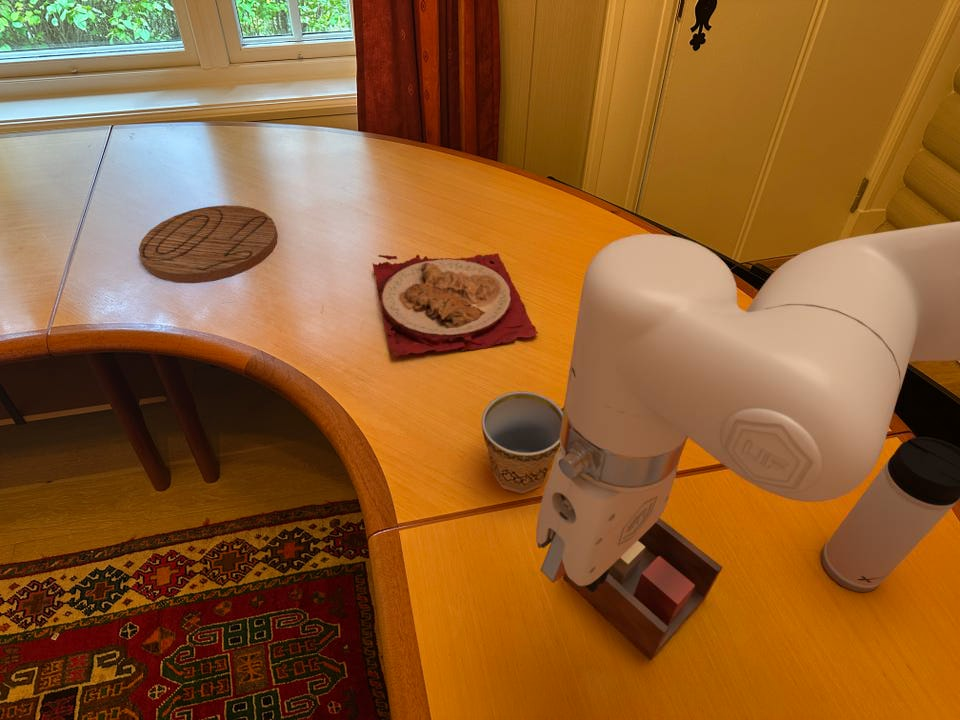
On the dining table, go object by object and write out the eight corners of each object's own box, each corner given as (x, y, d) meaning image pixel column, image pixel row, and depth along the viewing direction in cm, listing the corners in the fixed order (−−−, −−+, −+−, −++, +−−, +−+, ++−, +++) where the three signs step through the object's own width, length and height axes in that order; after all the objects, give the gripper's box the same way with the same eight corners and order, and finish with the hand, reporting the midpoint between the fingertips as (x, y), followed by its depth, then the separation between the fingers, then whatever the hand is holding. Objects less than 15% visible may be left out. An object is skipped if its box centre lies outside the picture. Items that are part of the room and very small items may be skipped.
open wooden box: (706, 597, 66) (722, 567, 61) (650, 661, 61) (664, 633, 56) (618, 525, 72) (628, 493, 68) (562, 577, 67) (568, 546, 63)
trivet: (298, 219, 125) (296, 211, 124) (240, 290, 107) (238, 281, 106) (187, 208, 128) (184, 200, 127) (113, 274, 110) (109, 265, 109)
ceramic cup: (502, 517, 73) (505, 466, 66) (468, 457, 80) (467, 405, 73) (593, 479, 77) (604, 428, 70) (553, 426, 84) (560, 374, 77)
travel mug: (868, 607, 65) (971, 499, 52) (809, 564, 69) (891, 453, 55) (893, 571, 68) (996, 461, 55) (835, 532, 72) (919, 419, 58)
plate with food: (391, 364, 93) (389, 348, 91) (373, 269, 111) (371, 253, 109) (538, 342, 98) (540, 326, 95) (498, 254, 116) (499, 238, 113)
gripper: (589, 541, 32) (556, 673, 44) (740, 403, 39) (675, 550, 52) (492, 456, 36) (487, 599, 48) (646, 345, 43) (607, 494, 56)
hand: (584, 573), depth 50 cm, fingers closed
